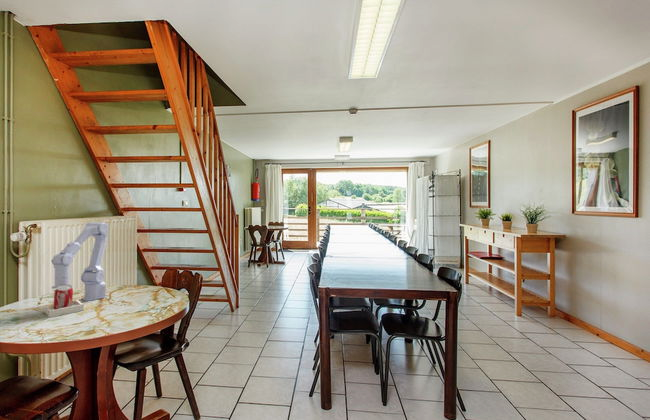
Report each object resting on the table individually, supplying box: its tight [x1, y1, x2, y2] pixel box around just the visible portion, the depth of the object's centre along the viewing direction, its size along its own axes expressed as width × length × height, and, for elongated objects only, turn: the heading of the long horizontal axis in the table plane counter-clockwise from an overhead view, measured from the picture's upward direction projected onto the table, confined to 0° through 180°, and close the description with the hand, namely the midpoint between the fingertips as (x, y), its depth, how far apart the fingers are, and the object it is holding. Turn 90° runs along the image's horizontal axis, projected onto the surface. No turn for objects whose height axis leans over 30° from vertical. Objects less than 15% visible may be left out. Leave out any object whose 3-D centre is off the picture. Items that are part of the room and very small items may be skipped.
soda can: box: [53, 284, 74, 310], centre depth 149 cm, size 7×7×12 cm
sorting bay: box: [44, 299, 85, 318], centre depth 149 cm, size 13×12×3 cm
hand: (61, 303), depth 153 cm, fingers closed
